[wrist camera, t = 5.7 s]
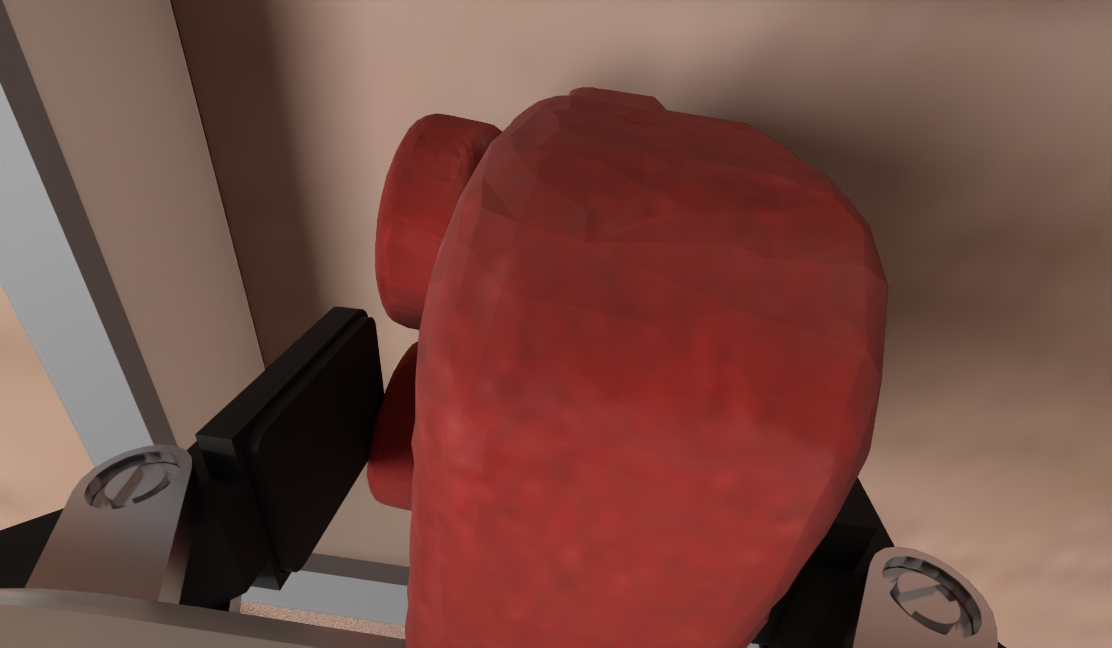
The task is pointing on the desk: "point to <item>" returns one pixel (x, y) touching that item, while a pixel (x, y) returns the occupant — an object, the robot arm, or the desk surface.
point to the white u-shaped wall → (146, 266)
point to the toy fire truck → (617, 373)
